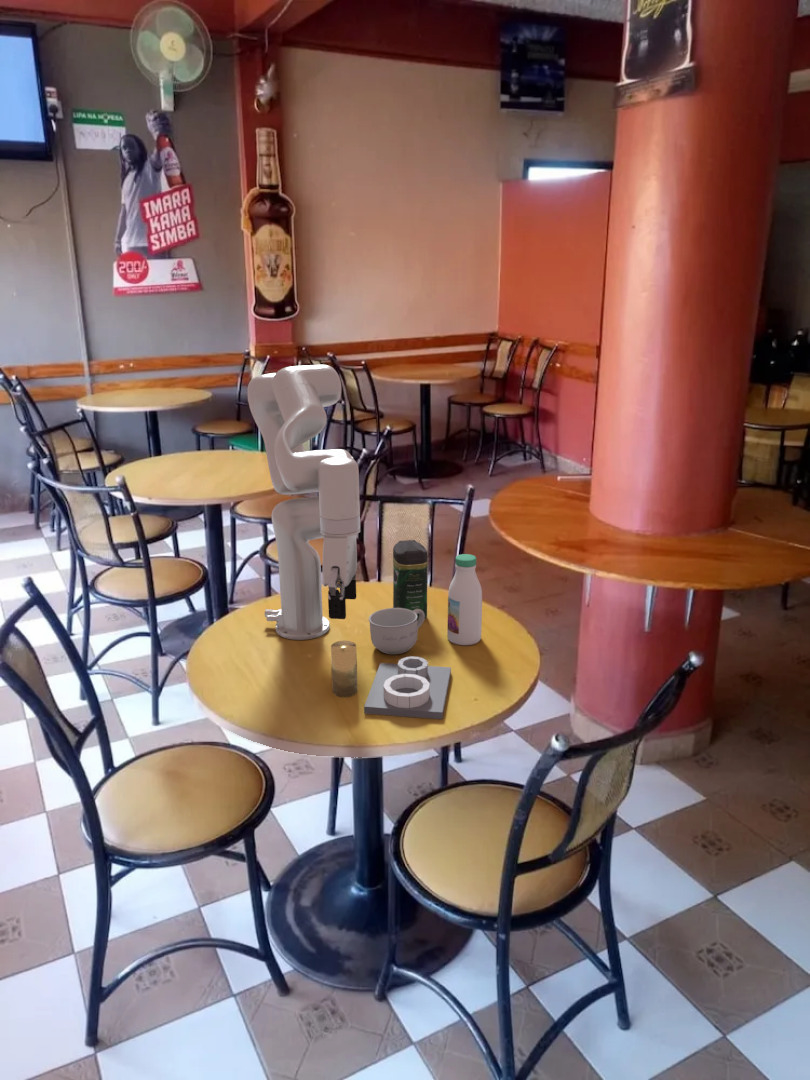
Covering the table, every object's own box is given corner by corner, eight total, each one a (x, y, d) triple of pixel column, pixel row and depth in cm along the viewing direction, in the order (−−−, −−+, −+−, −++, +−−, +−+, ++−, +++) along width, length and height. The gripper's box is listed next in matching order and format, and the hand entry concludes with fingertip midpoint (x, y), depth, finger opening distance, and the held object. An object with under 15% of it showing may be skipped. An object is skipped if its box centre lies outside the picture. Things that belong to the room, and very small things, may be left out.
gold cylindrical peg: (330, 696, 163) (328, 651, 160) (335, 683, 168) (334, 639, 165) (354, 697, 163) (353, 652, 159) (359, 685, 167) (358, 641, 164)
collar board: (364, 713, 157) (363, 695, 156) (380, 669, 174) (380, 652, 173) (442, 719, 155) (442, 700, 154) (450, 673, 172) (451, 656, 171)
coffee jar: (430, 622, 196) (431, 549, 190) (398, 625, 194) (397, 551, 188) (421, 606, 205) (421, 536, 199) (390, 609, 203) (389, 538, 197)
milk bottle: (481, 632, 191) (483, 551, 184) (480, 647, 184) (483, 563, 177) (448, 630, 192) (449, 550, 185) (446, 645, 184) (447, 562, 178)
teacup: (382, 663, 176) (382, 630, 174) (361, 643, 185) (360, 611, 183) (438, 650, 182) (439, 617, 180) (415, 631, 191) (415, 599, 189)
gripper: (331, 510, 162) (334, 590, 168) (308, 537, 146) (313, 625, 151) (368, 511, 161) (370, 592, 167) (350, 539, 145) (353, 627, 150)
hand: (343, 608), depth 159 cm, fingers open, 9 cm apart
